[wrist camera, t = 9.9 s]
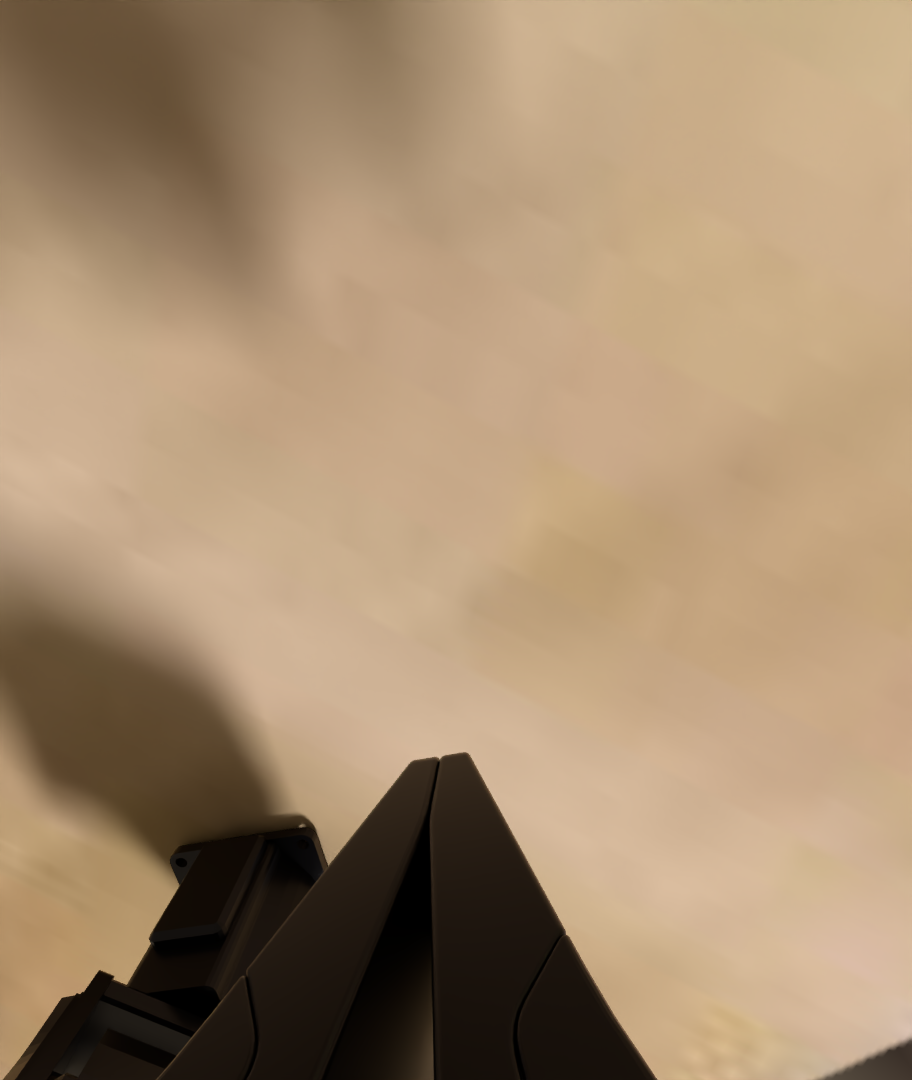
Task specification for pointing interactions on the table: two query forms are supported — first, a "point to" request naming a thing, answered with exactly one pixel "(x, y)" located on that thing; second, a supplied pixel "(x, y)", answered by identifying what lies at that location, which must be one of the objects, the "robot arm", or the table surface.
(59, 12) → the table surface
